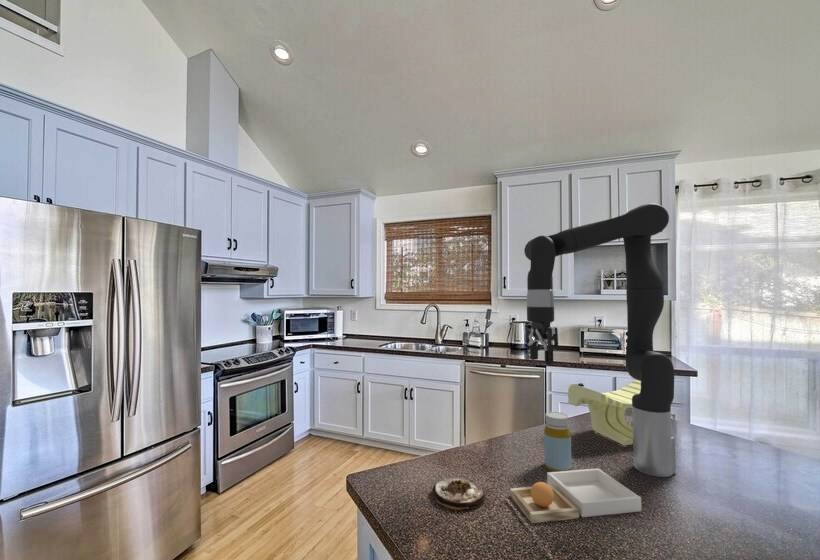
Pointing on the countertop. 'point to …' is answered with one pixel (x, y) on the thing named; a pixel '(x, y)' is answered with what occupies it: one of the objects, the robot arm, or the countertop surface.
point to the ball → (542, 494)
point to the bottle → (557, 442)
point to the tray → (536, 513)
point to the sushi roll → (458, 494)
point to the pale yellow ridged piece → (607, 409)
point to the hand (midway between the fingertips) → (541, 361)
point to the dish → (594, 492)
